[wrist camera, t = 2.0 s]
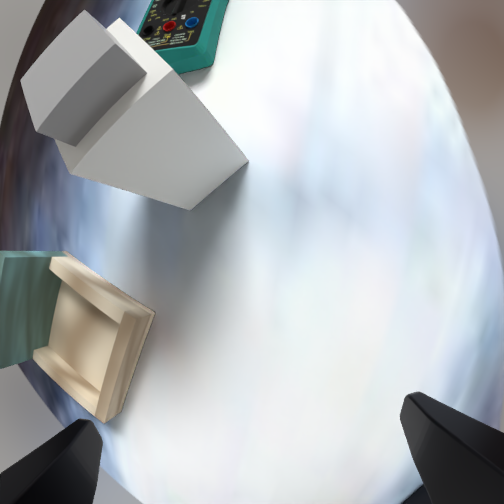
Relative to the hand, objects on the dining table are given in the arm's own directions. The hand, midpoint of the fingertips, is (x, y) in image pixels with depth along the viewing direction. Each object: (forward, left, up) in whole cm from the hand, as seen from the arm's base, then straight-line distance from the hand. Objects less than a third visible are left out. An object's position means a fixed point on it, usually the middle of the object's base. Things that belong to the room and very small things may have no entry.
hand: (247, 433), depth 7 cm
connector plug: (+11, -6, -12) cm, 17 cm away
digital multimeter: (+20, -19, -12) cm, 30 cm away
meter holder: (+13, +10, -12) cm, 20 cm away
